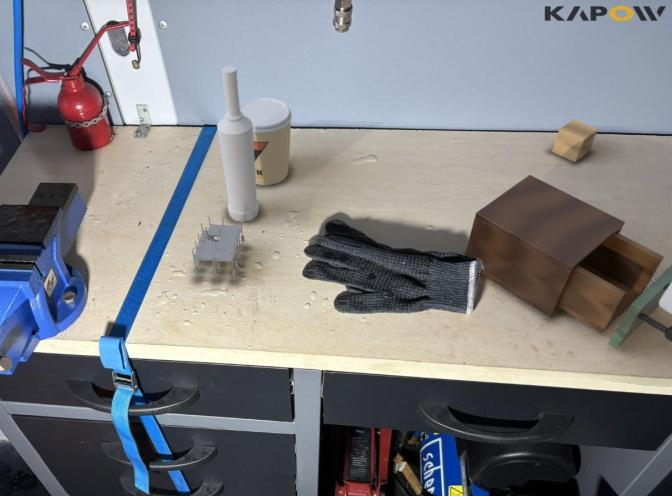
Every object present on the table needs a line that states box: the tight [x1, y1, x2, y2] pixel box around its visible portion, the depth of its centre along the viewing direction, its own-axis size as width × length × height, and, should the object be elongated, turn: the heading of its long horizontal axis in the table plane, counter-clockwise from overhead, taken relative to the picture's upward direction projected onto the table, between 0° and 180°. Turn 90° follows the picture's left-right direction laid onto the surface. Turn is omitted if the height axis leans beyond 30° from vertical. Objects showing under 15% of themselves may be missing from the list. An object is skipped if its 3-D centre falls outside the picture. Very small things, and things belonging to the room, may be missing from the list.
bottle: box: [216, 65, 260, 223], centre depth 91 cm, size 5×5×25 cm
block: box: [551, 119, 599, 163], centre depth 106 cm, size 5×5×5 cm
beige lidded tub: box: [240, 97, 293, 186], centre depth 103 cm, size 9×9×12 cm
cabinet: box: [464, 174, 626, 318], centre depth 85 cm, size 15×13×10 cm
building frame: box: [191, 216, 246, 283], centre depth 90 cm, size 6×8×6 cm
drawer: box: [557, 232, 672, 350], centre depth 79 cm, size 18×11×8 cm, turn 40°
